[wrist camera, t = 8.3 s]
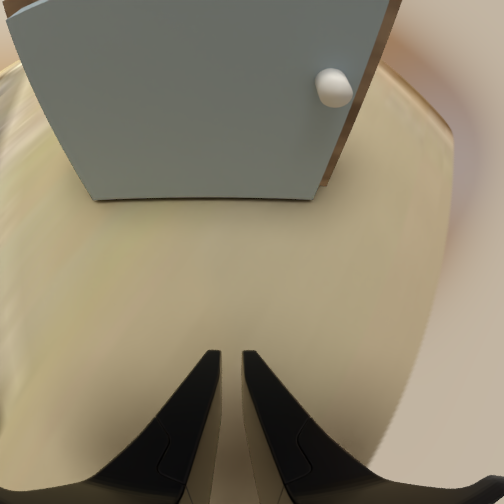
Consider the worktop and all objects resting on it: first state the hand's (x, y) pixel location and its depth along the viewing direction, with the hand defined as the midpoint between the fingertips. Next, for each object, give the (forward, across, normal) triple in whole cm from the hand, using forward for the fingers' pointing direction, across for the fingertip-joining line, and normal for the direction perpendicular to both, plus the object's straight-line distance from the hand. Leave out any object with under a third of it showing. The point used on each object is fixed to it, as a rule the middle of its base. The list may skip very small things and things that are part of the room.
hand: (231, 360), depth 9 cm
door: (+15, +2, -3) cm, 15 cm away
